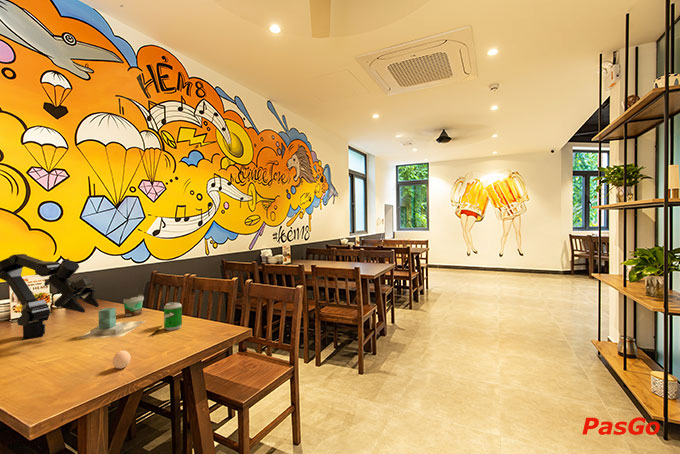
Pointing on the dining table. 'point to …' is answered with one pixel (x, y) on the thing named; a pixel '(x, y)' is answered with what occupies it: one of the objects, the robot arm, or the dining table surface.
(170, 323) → the soda can
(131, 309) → the food container
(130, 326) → the birch board
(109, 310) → the block
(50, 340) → the dining table surface
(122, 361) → the egg
